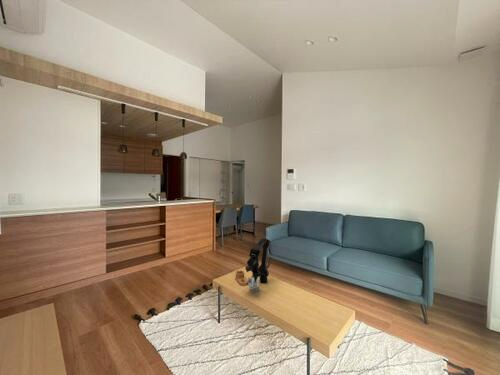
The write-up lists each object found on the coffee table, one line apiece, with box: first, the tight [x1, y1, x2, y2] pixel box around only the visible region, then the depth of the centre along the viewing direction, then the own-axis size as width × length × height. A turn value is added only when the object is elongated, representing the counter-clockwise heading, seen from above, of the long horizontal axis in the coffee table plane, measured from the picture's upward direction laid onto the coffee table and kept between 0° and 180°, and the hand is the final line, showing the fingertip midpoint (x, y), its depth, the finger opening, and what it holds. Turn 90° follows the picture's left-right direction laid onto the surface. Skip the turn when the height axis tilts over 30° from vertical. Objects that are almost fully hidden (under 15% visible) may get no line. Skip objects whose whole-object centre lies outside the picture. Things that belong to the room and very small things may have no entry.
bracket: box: [235, 270, 249, 287], centre depth 197 cm, size 18×8×7 cm, turn 22°
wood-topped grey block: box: [250, 275, 260, 288], centre depth 179 cm, size 6×3×9 cm, turn 97°
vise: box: [247, 276, 258, 289], centre depth 190 cm, size 8×10×5 cm
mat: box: [249, 287, 261, 295], centre depth 179 cm, size 8×8×1 cm
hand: (254, 280), depth 179 cm, fingers closed on wood-topped grey block, 3 cm apart
